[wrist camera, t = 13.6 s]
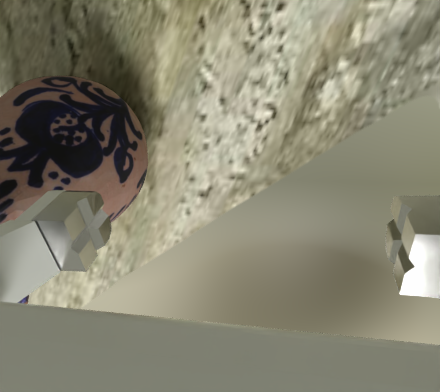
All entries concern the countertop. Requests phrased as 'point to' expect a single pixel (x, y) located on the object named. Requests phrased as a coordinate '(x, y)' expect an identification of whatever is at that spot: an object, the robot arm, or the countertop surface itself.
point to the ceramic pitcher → (68, 145)
